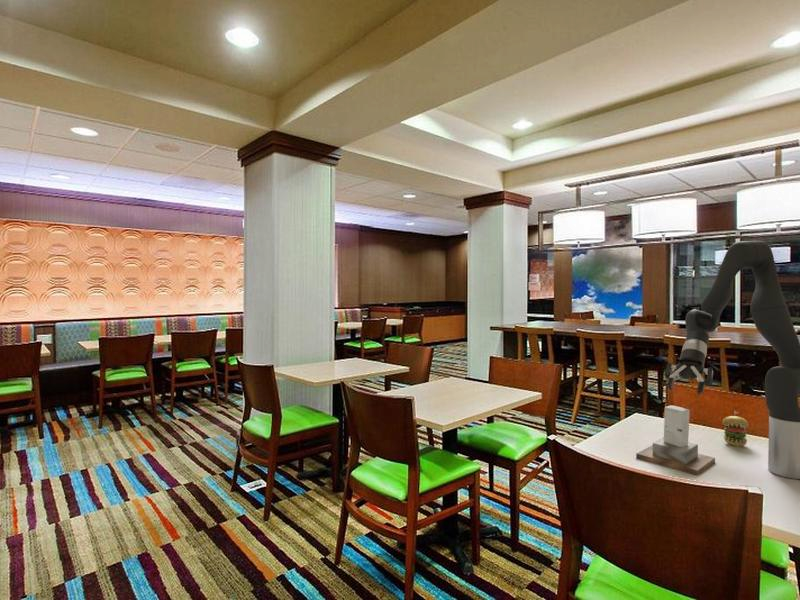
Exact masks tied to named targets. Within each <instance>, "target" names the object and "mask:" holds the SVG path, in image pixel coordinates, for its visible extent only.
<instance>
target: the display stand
mask: <svg viewBox="0 0 800 600" xmlns="http://www.w3.org/2000/svg"><path fill="white" fill-rule="evenodd" d="M638 458H640V459H639V460H642V459H643V460H642V461H645V460H646V462H650V463H653V464H657V465H660V466H664V467H667V468H670V469H674V470H678V471H681V472H684V473H688V474H691V475H695V476H698V475H700V474H701V473H702V472H704V471H705V470H707V469H708V468H709V467H711V466H712V465H713V464H715V463H716V457H713V456H710V455H705V454H701V453H699V444H698V443H692V442H689V441H688V445H687V446H684V447H678V446H675V445H672V444H669V443H666V442H664V436H663V437H661V438H659V439H658V440H656V441H653V443H652V445H650V446H648V447H646V448H644V449H642V450H640V451H638V452H637V453H636V459H638Z"/></svg>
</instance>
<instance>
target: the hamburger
mask: <svg viewBox="0 0 800 600" xmlns="http://www.w3.org/2000/svg"><path fill="white" fill-rule="evenodd" d="M733 414H734V415H729V416H726V417H724V418H723V419H722V425H723V426H725V427H724V428H723V430H724V431H723V434H724V435H723V439H724V441H725V442H726V443H727V444H729V445H731V446H733V447H737V446H740V447H744V446H745V445H746V444H747V443H748V439H747V434H748V432H747V430H746V428H748V427H749V422H748V420H746V419H745V418H743V417H741V416H738V415H737V414H739V411H736V410H733ZM736 415H737V416H736Z"/></svg>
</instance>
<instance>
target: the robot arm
mask: <svg viewBox="0 0 800 600" xmlns="http://www.w3.org/2000/svg"><path fill="white" fill-rule="evenodd" d="M774 258H775V257H774V253H773V250H772V248H771V247H770V245H769V244H768V243H767V242H766V241H762V240H744V241H742V240H740V241H737V242H734V243H732V244H731V245H730V246H729V247H728V249H727V250H726V253H725V255H724V256H723V259H722V263H721V265H720V267H719V269H718V272H717V274H716V277H715V280H714V282H713V283H712V285H711V287H710V289H709V290H708V292H707V294H706V295H705V297H703V300H702V301H701V303H700V307H701V309H702V310H703V311H702V310H701V309H700V310H699V309H691V310H689V311H688V312H687V313H686V315H685V321H684V323H685V328H686V336H685V339H684V344H683V345H682V349H681V353H680V356H679V361H678V363H677V364H672V363H671V362H668V363H667V365H666V368H665V370H664V374H663V375H664V379H665V380H668V381H667V388H668V389H669V390H670V391H673V390H674V385H675V382H676V381H677V380H680V379H681V378H684V379H690V380H691V379H692V380H694V379H695V380H696V381H697V382H698V385H697V390H696V392H697V394H698V395H701V394H703V393H704V391H705V386H712V384H713V380H714V379H713V377H714V370H713V367H711V366H709V367H707V368H705V367H704V365H705V362H706V357H707V356H708V355H707V353H708V345H709V341H710V336H709V335H710V333H713V332H715V331H716V330H717V329H718V326H719V322H720V318H721V314H722V312H723V311H724V309H725V308H726V306H727V305H728V304H729V302H730V301H731V299H732V297H733V293H734V285H733V284H734V283H733V282H734V280H735V277H736V276H737V274H738V273H739V272H740V271H741V270H742V269H743V270H745V269H746V270H747V269H751V272H752V273H753V277H754V281H755V289H754V292H753V294H752V298H751V302H750V313H751V316H752V321H753V323H754V326H755V327H756V330H757V331H758V332H759V333H760V335H761V336H762V337H763V338H764V339H765V341H766V342H767V343H769V345H770V346H771V347H772V348H773V349H774V351H775V353H776V354H777V356H778V360H779V363H780V366H779V365H778V366H774V367H771V368H770V369H769V370H768V371H767V372H766V374H765V377H764V379H765V380H764V388H765V389H764V391H765V392H764V393H765V405H766V407H767V410H768V451H767V452H768V455H767V457H768V461H767V468H768V471H769V472H771V473H773V474H774V475H777V476H780V477H783V478H784V477H785V478H788V479H795V480H800V405H799V397H800V341H799V337H798V334H797V332H796V330H795V329H796V328H795V327H794V323H793V319H792V317H791V313H790V310H789V307H788V304H787V302H786V300H785V296H784V294H783V291H782V287H781V284H780V282H779V278H778V273H777V267H776V263H775V259H774ZM672 372H673V373H672ZM704 373H705V375H707V376H706V379H704V378H703V376H702V374H704Z"/></svg>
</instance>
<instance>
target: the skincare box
mask: <svg viewBox="0 0 800 600" xmlns="http://www.w3.org/2000/svg"><path fill="white" fill-rule="evenodd" d="M690 410H691V409H690V408H689V409H688V408H684V407H682V406H681V407H680V406H677V405H673V404H672V405H668V406H667V405H666V406H665V407H664V421H663V422H664V424H663V437H664V442H666V443H669V444H672V445H675V446H678V447H684V446H687V445H688V442H689V433H690V432H689V431H690V412H691V411H690Z"/></svg>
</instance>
